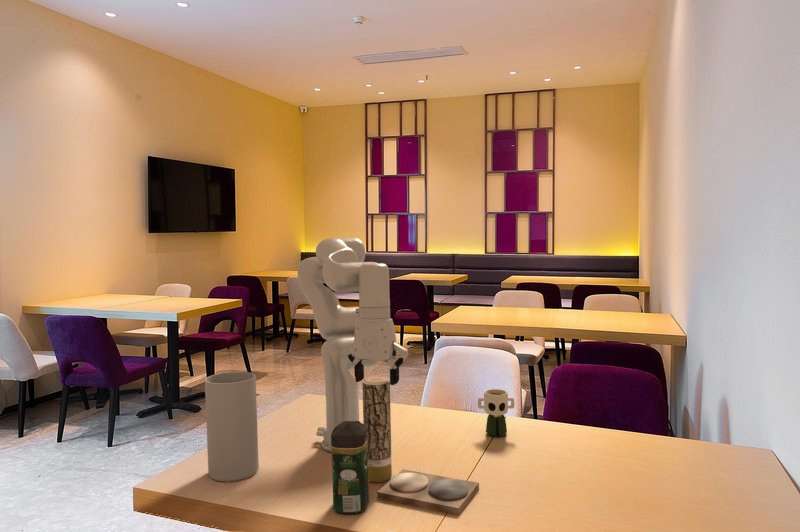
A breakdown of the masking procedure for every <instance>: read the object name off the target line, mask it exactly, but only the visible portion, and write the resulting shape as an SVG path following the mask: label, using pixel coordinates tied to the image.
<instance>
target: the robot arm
mask: <svg viewBox="0 0 800 532" xmlns="http://www.w3.org/2000/svg"><path fill="white" fill-rule="evenodd" d="M315 255H316V256H312V257H311V256H310V257H307V258H304V259H303V260H301V261H300V262H299V263H298V265H297V273H296V274H297V280H298V284H299V287H300V290H301V292H302V293H303V296H304V297H305V298H306V300H307V301H308V303H309V305H310V307H311V310H312V313H313V316H314V320H315V323H316V327H317V329H318V332H319V334H320V336H321V337H322V339H324V340H326V341H324V342H323V344H322V345H321V349H320V356H321V362H322V366H323V373H324V385H325V386H324V387H325V415H326V417H325V418H326V422H325V423H326V424H325V425H326V427H323V426H318V427H317V430H316V433H315V434H316V436H317V437H323V440H322V441H321V448H322V449H323V450H324V451H327V452H329V453H332V452H331V433H332V431H333V429H334V428H335V427H336V426H337V425H339V424H340V423H342V422H343V421H360V401H359V400H360V397H359V396H360V395H359V394H360V393H359V382H363V379H364V378H365V369H366V368H372V367H375V366H376V365H378V364H379V363H380V362H387V363H388V364H389V366H390V367H391V368H390V369H389V379H390V386H395V385H396V384H398V383H399V381H400V367H401V366H402V365H403V363H405V361H406V359H407V356H408V355H409V353H410V352H409V350H408V349H407V348H405V347H403V346H402V345H401V344H398V343H397V336H396V329H395V324H394V321H393V318H391V299H390V269H389V267H388V265H387V264H386V263H378V262H375V261H365V258H366V248H365V246H364V242H362V240H360V239H359V238H357V237H330V238H329V237H328V238H325V239H323V240H321V241H319V243H318V244H317V246H316V248H315ZM324 284H326V286H325V285H324ZM334 292H336V293H340V294H341V293H355V292H358V302H359V304H358V305H359V306H348V307H347V306H346V307H344V306H341V304H340V302H339V301H340V300H339V298H338V296H337V294H336V293H334ZM398 353H399V354H400V355H399V358H397V354H398ZM351 370H354V376H353V375H352V373H351V372H350V371H351Z"/></svg>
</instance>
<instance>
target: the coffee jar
mask: <svg viewBox="0 0 800 532" xmlns="http://www.w3.org/2000/svg"><path fill="white" fill-rule="evenodd" d="M330 453H331V468H332V469H331V472H332V473H331V474H332V507H333V510H334V511H335V512H337V513H339V514H342V515H354V514H357V513H362V512H364V511H365V509H366V508H367V507H368V503H369V501H370V500H369V499H370V492H369V491H370V489H369V481H368V458H367V430H366V426H365V425H364V424H363V423H362V422H361V421H360V420H359V421H343V422H342V423H340V424H339V425H337V426H336V427H335V428H334V429H333V431H332V433H331V452H330Z"/></svg>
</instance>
